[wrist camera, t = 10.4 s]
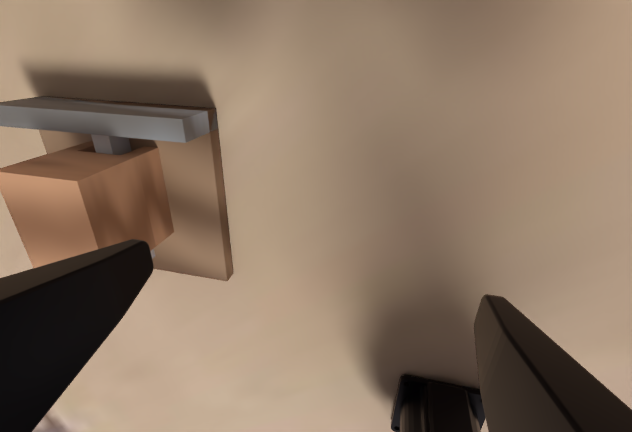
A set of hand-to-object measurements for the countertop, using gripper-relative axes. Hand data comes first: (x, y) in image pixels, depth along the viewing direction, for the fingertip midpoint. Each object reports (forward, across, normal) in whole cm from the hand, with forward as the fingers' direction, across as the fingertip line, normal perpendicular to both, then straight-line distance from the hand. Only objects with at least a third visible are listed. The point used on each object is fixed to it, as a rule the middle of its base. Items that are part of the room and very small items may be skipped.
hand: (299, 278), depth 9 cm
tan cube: (+11, +15, +4) cm, 19 cm away
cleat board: (+12, +15, +4) cm, 19 cm away
